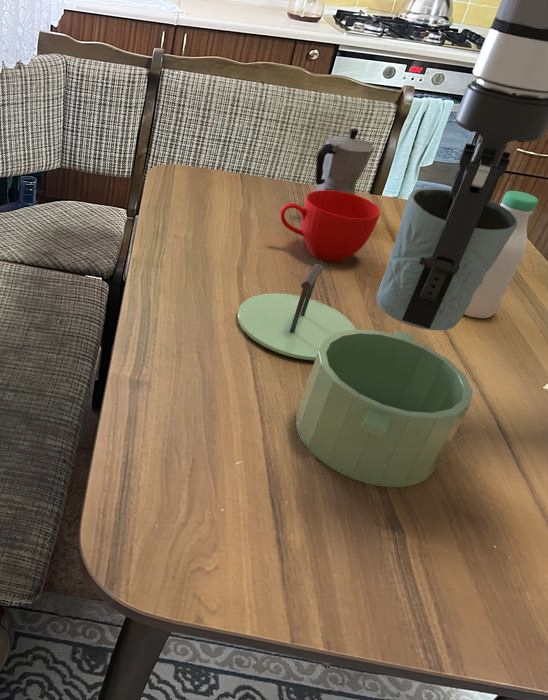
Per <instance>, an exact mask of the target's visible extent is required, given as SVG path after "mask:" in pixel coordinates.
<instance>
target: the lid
mask: <svg viewBox="0 0 548 700" xmlns="http://www.w3.org/2000/svg"><path fill="white" fill-rule="evenodd" d="M322 271H323V266H322V265H321V264H320V263H315V264H313V266H312V268H311V269H310V271H309V272H308V273H307V275H306V277H305V278H304V280H303V281H302V283H301V285H300V286H301V289H302V290H301V293H300V295H296V294H290V293H279V292H277V293H276V292H275V293H274V292H273V293H272V292H271V293H262V294H257V295H254V296H251V297H249V298H247V299H245V300H244V301H243V302H241V304H240V306H239V308H238V311H237V321H238V324H239V327H240V328H241V329H242V330H243V332H244V333H245V334H246V335H247V336H248V337H249V338H251V339H252V340H253V341H254V342H256V343H257V344H259V345H261V346H262V347H264V348H266V349H269V350H270V351H273V352H275V353H278V354H281V355H284V356H287V357H291V358H295V359H299V360H300V359H301V360H303V361H304V360H306V361H314V362H315V359H316V356H317V353H318V351H319V349H320V347H321V345H322V343H323V341H324V340H325V339H327V338H328V337H330V336H332V335H334V334H336V333H338V332H344V331H350V330H357V328H356V327H355V325H354V324H353V322H352V321H351V320H349V318H347V317H346V316H345V315H344V314H343V313H342V312H340V311H338V310H337V309H335V308H333V307H332V306H329V305H327V304H325V303H323V302H320V301H318V300H315V299H311V297H312V294H313V292H314V288H315V285H316V282H317V279H318V277H319V276H320V274H321V272H322Z"/></svg>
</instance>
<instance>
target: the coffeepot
mask: <svg viewBox="0 0 548 700" xmlns="http://www.w3.org/2000/svg"><path fill="white" fill-rule="evenodd" d="M359 131H360V130H358V129H356V128H350V129H349V136H331V137H329V138H328V139H326V140H325V144H323V145H322V147H321V148H320V149H319V150H318V151H317V153H316V157H315V158H316V159H315V180H314V183H315V184H316V185H317V187H316V189H315V191H319V190H332V191H340V192H346V193H350V194H353V195H356V188H355V187H356V185H357V182H358V181H359V180H360V179H361V176H362V174H363V173H364V170H365V168H366V166H367V164H368V162H369V160H370V158H371V156H372V155H373V153H374V150H375V147H374V146H373V145H374V143H373V142H369V141H368V140H365V139H359V138H356V137H357V136H358V133H359Z"/></svg>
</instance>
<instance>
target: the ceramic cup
mask: <svg viewBox="0 0 548 700" xmlns="http://www.w3.org/2000/svg"><path fill="white" fill-rule="evenodd" d="M289 209H296V210H298V211H299V213H300V215H301V229H299V228H297V227H295V226H293V225H292V224H290V223H289V222H288V221H287V220H286V218H285V213H286V211H287V210H289ZM279 213H280V215H279V216H280V220H281V222H282V224H283V225H284V227H286V228H287V229H289V230H290V231H291V232H293V233H295V234H297V235H300V236H302V238H303V240H304V243H305V245H306V247H307V249H308V252H309V253H310V254H311V255H312V256H313V257H315V258H316V259H319V260H323V261H325V262H331V263H340V262H343V261H345V260H346V259H348V258H350V257H351V256H353V255H354V254H356V253H357V252H359V251H360V250H361V249H362V248H363V247H364V245H365V244H366V243H367V242H368V240H369V238H370V237H371V235H372V234H373V232H374V229H375V227H376V225H377V223H378V220H379V219H380V214H381V210H380V208H379V207H378V206H377V205H376V204H375V203H374V202H372V201H370V200H369V199H367V198H364V197H362V196H359V195H356V194H355V195H353V194H350V193H346V192H340V191H332V190H319V191H316V190H314V191H311V192H309V193H308V194H307V195H306V197H305V201H304V204H303V206H301V205H300V204H297V203H295V202H289V203H286V204H284V205H283V206H282V207H281V210H280V212H279Z"/></svg>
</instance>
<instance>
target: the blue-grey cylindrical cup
mask: <svg viewBox="0 0 548 700" xmlns="http://www.w3.org/2000/svg"><path fill="white" fill-rule="evenodd" d="M451 189H452V188H451ZM451 189H450V188H445V187H444V188H443V187H421V188H417V189H415V190H412V191H410V193H409V195H408V197H407V201H406V204H405V206H404V210H403V213H402V216H401V221H400V224H399V229H398V231H397V236H396V238H395V241H394V244H393V246H392V250H391V252H390V256H389V261H388V263H387V264H386V265H387V266H386V269H385V272H384V274H383V277H382V279H381V281H380V285H379V287H378V291H377V294H376V303H377V305H378V307H379V309H381V310H382V311H383V312H384V313H385V314H386V315H388V316H389V317H391V318H392V319H394V320H396V321H398V322H400V323H402V324H405V325H408V326H411V327H414V328H418V329H422V330H428V331H448V330H451V329H453V328H454V327H456V326H457V325H458V324H459V322H460V321H461V319H462V317H463V316H464V313H465V311H466V309H467V308H468V306H469V304H470V302H471V299H472V297H473V294H474V293H475V291H476V289H477V288H478V287H479V286H480V285H481V284H482V282H483V279H484V276H485V273H486V272H487V271H488V270H489V269H490V268H491V267H492V265H493V264H494V262H495V261H496V259H497V257H498V256H499V254H500V253H501V251H502V249H503V248H504V246H505V244H506V243H507V241H508V240H509V238H510V236H511V235H512V233H513V232H514V230H515V229H516V227H517V219H516V218H515V217H514V215H513V214H512V213H511V212H510V211H508V210H507V209H506V208H504V207H502V206H501V205H500V204H499V203H497V202H495V201H493V200H490V201H489V202H488V203H487V204H485V206H484V208H483V211H482V213H481V215H480V218H479V220H478V222H477V225H476V227H475V229H474V232H473V234H472V236H471V239H470V241H469V243H468V246H467V248H466V250H465V253H464V255H463V257H462V260H461V262H460V264H459V266H460V268H459V270H458V271H457V273H456V274H455V275H454V276H453V278H452V280H451V282H450V285H449V287H448V289H447V291H446V294H445V296H444V298H443V300H442V302H441V305H440V307H439V309H438V311H437V314H436V316H435V318H434V320H433V322H432V325H431V327H430V329H429V328H425V327H422V326H419V325H416V324H413V323H410V322H406V321H403V320H402V318H403V316H404V313H405V311H406V309H407V306H408V304H409V301H410V299H411V297H412V294H413V292H414V289H415V287H416V285H417V282H418V280H419V278H420V275H421V273H422V270H423V268H424V266H425V265H422V264H419V261H420V259H421V257H423V258H427V259H428V257H430V256H431V254H432V251H433V249H434V246H435V244H436V242H437V239H438V237H439V235H440V232H441V230H442V227H443V226H444V225H445V222H446V220H445V219H446V217H447V214H448V212H449V209H450V208H449V207H448V205H449V203H450V200H451V198H452V196H451V195H450V191H451ZM441 257H443V256H441ZM445 258H447V257H445ZM448 259H450V258H448ZM452 260H453V259H452Z"/></svg>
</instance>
